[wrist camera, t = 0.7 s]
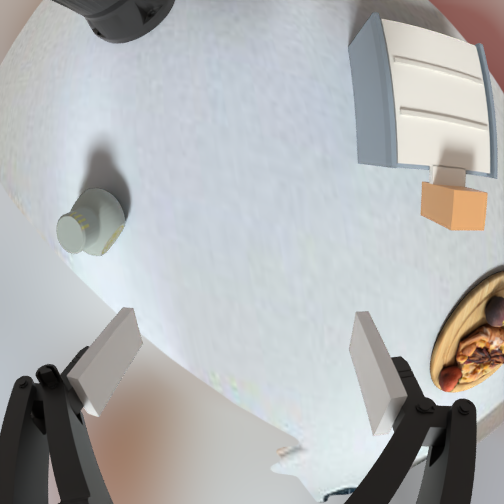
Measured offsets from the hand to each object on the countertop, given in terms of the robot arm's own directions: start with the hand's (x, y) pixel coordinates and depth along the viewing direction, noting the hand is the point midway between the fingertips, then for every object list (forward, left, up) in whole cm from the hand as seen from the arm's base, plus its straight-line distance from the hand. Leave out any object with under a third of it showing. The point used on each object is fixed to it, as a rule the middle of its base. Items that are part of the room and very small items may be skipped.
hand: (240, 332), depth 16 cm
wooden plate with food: (+26, +49, -28) cm, 62 cm away
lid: (-14, +22, -17) cm, 31 cm away
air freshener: (-2, -26, -27) cm, 38 cm away
